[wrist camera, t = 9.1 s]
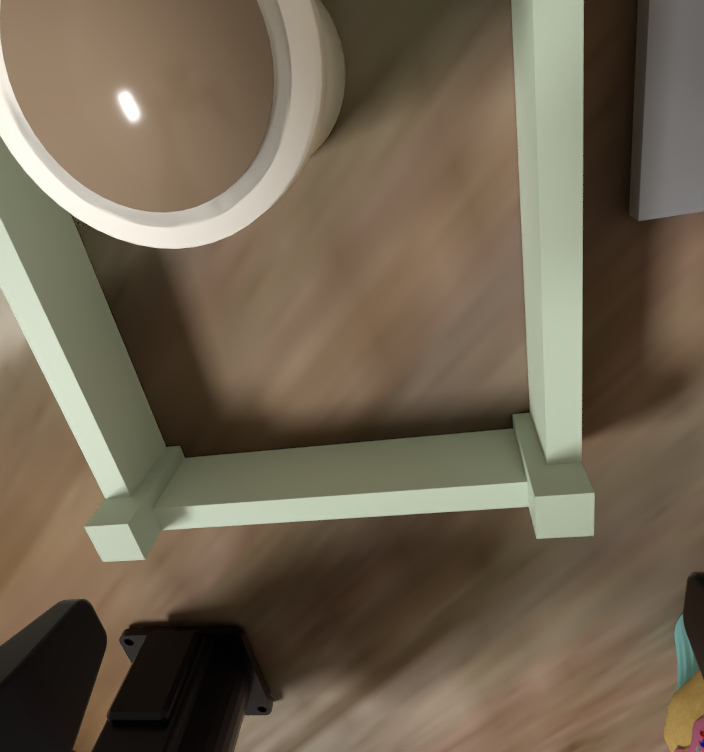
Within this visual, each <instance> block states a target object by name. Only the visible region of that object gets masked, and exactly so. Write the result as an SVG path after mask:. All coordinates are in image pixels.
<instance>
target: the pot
mask: <svg viewBox="0 0 704 752" xmlns="http://www.w3.org/2000/svg"><path fill="white" fill-rule="evenodd" d="M344 89H345V62H344V54H343V50H342V45H341V41H340V38H339V35H338V32H337V29H336V27H335V25H334V22H333V20H332V18H331V16H330V14H329V12H328V11H327V9H326V8H325V6H324V5H323V3H322V2H321V0H0V136H1V137H2V139H3V141H4V142H5V144H6V146H7V147H8V149H9V150H10V152H11V153H12V155H13V156H14V157H15V159H16V160H17V161H18V163H19V164H20V165H21V166H22V168H23V169H24V170H25V172H26V173H27V174H28V175H29V176H30V177H31V178H32V179H33V180H34V182H35V183H36V184H37V185H38V186H39V187H40V188H41V189H42V190H43V191H44V192H45V193H46V194H47V195H48V196H50V197H51V198H52V199H53V200H54V201H55V202H56V203H57V204H58V205H60V206H61V207H62V208H64V209H65V210H66V211H68V212H69V213H71V214H72V215H73V216H75V217H76V218H77V219H79V220H81V221H83V222H84V223H86V224H88V225H89V226H91V227H93V228H95V229H96V230H98V231H101V232H103V233H105V234H108V235H110V236H112V237H114V238H117V239H120V240H123V241H127V242H130V243H133V244H137V245H142V246H148V247H154V248H171V249H178V248H188V247H196V246H200V245H205V244H209V243H213V242H216V241H218V240H221V239H223V238H225V237H228V236H230V235H232V234H234V233H236V232H237V231H239V230H241V229H243V228H244V227H246V226H248V225H249V224H250V223H252V222H253V221H254V220H255V219H256V218H258V217H259V216H260V215H261V214H263V213H264V212H265V211H266V210H268V209H269V208H270V207H271V206H272V205H274V204H275V203H276V202H277V201H279V200H280V198H281V197H282V196H283V195H284V194H285V193H286V192H287V191H288V190H289V189H290V188H291V187H292V185H293V184H294V182H295V181H296V180H297V178H298V177H299V175H300V174H301V172H302V171H303V169H304V167H305V165H306V163H307V161H308V160H309V158H310V156H311V155H312V154H313V153H315V152H316V151H317V150H318V148H319V147H320V146H321V145H322V144H323V143H324V141H325V140H326V139H327V137H328V136H329V134H330V133H331V131H332V129H333V127H334V125H335V123H336V121H337V118H338V115H339V113H340V110H341V106H342V101H343V97H344Z"/></svg>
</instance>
